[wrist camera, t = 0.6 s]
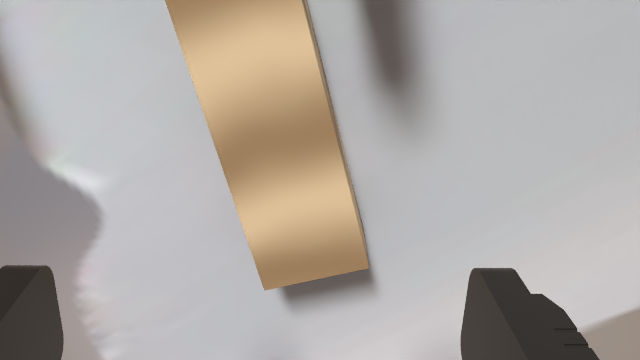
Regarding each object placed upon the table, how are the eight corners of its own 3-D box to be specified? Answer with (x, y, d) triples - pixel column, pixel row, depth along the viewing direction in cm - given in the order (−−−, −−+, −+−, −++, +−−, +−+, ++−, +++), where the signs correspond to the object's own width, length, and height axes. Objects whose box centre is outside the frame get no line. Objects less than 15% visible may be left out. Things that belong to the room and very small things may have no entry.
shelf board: (182, -24, 26) (160, -15, 22) (293, -54, 25) (289, -49, 22) (270, 246, 31) (264, 290, 28) (363, 226, 31) (369, 268, 27)
